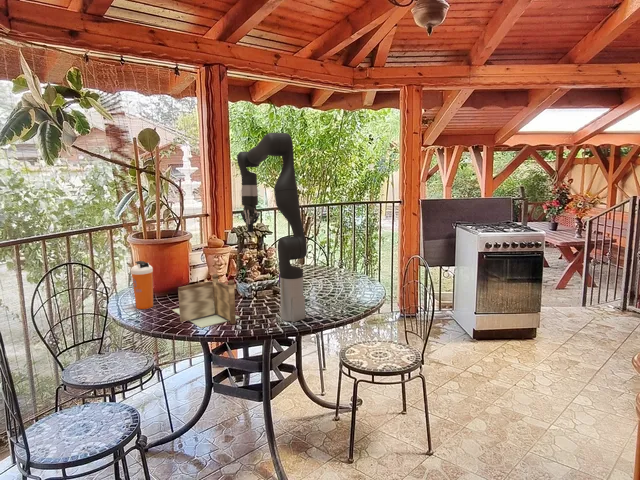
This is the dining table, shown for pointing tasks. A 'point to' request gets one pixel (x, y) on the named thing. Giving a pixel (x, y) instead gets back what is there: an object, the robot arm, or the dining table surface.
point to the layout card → (206, 319)
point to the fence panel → (196, 301)
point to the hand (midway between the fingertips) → (250, 232)
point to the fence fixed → (224, 299)
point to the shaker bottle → (143, 284)
